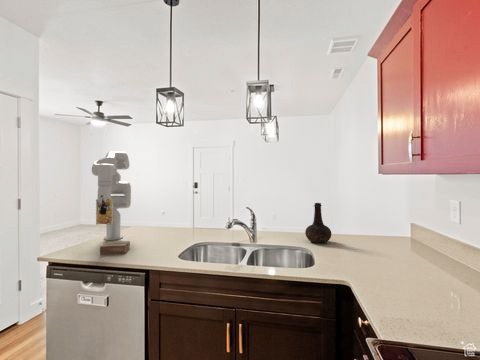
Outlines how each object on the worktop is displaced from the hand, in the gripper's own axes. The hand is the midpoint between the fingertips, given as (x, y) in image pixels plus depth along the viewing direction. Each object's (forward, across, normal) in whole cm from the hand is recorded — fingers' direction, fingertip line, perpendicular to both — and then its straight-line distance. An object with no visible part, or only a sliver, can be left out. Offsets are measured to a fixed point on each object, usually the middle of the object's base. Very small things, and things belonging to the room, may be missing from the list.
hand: (104, 213), depth 171 cm
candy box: (+7, 0, 0) cm, 7 cm away
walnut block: (+23, +1, +6) cm, 24 cm away
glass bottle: (+24, -11, +141) cm, 144 cm away
